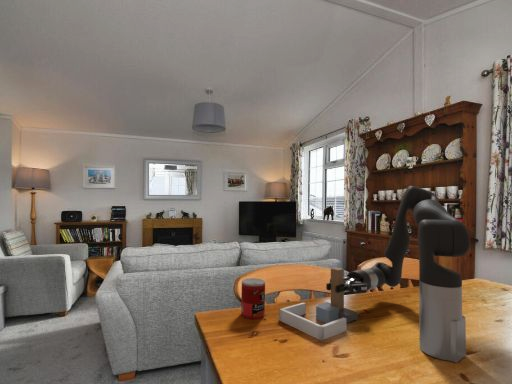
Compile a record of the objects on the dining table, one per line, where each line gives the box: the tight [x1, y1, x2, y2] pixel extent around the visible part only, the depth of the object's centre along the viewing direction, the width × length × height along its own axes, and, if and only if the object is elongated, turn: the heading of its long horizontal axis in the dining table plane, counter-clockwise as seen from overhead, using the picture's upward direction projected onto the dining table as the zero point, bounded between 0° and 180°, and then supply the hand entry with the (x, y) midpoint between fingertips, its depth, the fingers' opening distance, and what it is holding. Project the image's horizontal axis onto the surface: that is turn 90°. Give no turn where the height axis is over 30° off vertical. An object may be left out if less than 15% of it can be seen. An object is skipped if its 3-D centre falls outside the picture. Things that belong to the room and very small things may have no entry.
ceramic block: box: [315, 302, 339, 324], centre depth 94 cm, size 5×5×4 cm
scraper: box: [317, 267, 359, 323], centre depth 97 cm, size 12×5×15 cm, turn 37°
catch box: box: [278, 302, 347, 342], centre depth 89 cm, size 17×11×4 cm, turn 37°
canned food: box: [240, 277, 266, 320], centre depth 97 cm, size 8×8×11 cm
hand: (331, 288), depth 95 cm, fingers closed on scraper, 3 cm apart
